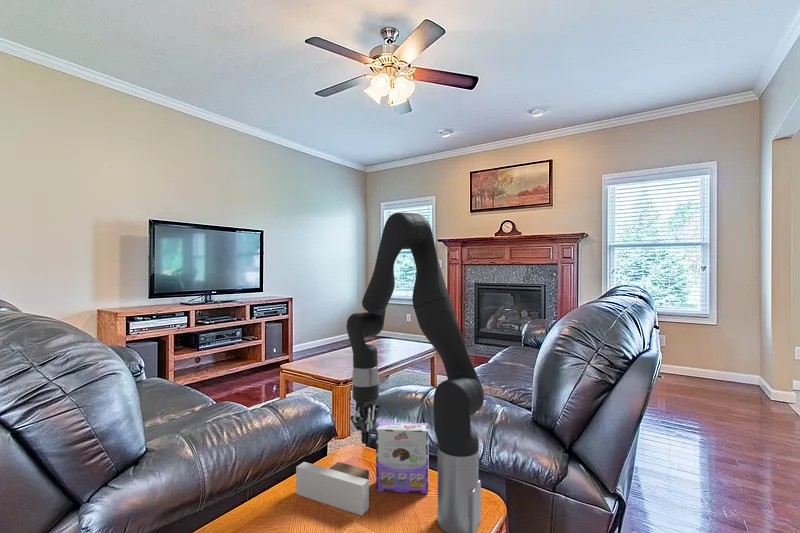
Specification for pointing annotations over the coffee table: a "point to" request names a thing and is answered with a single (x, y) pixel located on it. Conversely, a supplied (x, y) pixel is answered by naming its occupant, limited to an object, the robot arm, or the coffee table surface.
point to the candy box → (402, 457)
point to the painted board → (333, 487)
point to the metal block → (351, 470)
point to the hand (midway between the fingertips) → (366, 443)
